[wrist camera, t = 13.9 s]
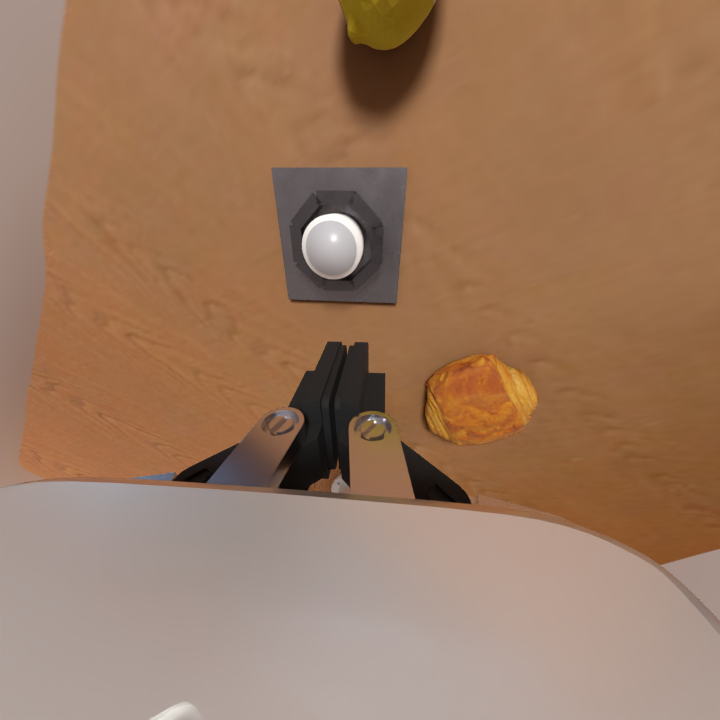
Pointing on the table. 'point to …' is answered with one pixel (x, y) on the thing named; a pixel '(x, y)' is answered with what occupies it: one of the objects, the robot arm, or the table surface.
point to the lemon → (384, 20)
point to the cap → (333, 245)
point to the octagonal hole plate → (362, 202)
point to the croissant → (478, 401)
